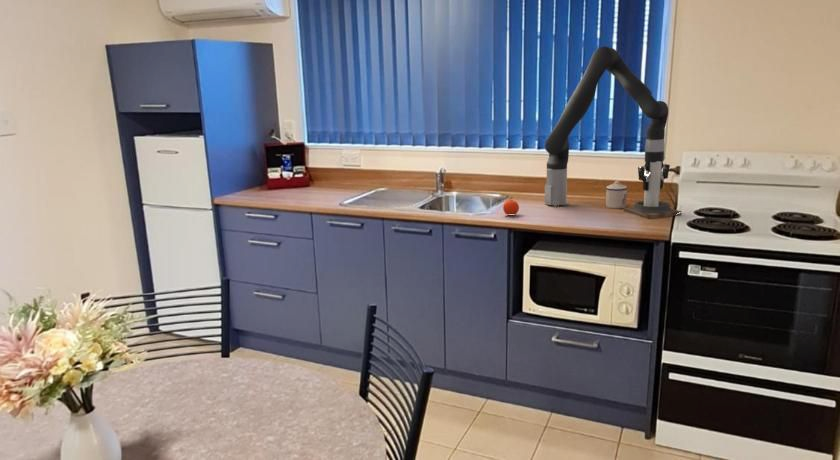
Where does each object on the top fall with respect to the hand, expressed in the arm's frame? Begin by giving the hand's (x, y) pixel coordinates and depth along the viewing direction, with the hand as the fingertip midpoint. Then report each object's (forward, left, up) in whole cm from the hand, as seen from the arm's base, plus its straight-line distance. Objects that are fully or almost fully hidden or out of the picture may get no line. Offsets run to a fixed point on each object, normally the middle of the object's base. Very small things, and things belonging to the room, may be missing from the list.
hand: (652, 189), depth 248 cm
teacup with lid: (-5, +19, -10) cm, 22 cm away
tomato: (-55, +23, -10) cm, 60 cm away
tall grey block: (0, 0, -9) cm, 9 cm away
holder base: (0, 0, -10) cm, 10 cm away
